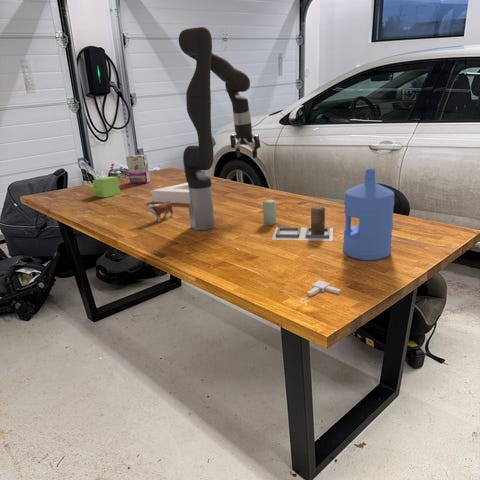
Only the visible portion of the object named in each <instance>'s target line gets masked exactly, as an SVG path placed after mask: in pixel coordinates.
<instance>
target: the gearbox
mask: <svg viewBox="0 0 480 480" xmlns="http://www.w3.org/2000/svg"><path fill="white" fill-rule="evenodd" d="M120 188H121V187H120V182H119V177H118V176H104V177H99V178H95V179H93V180H92V186H91V187H89V191H90V192H94V195H95V197H98V198H107V197H111V196H116V195H118V194H121V190H120Z"/></svg>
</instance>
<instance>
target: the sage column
mask: <svg viewBox="0 0 480 480" xmlns="http://www.w3.org/2000/svg"><path fill="white" fill-rule="evenodd" d="M276 205H277V204H276V200H274V199H267V200H262V212H263V227H267V226H273V225H276V224H277V215H276V214H277V213H276V212H277V210H276V207H277V206H276Z"/></svg>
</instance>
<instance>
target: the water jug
mask: <svg viewBox="0 0 480 480" xmlns="http://www.w3.org/2000/svg"><path fill="white" fill-rule="evenodd" d="M364 171H365V175H364V182H363V183H361V184H358V185H356V186H353V187H351V188H348V189H347V190H346V191H345V192H344V198H343V199H344V200H343V203H344V214H345V220H344V222H345V223H344V224H345V225H344V227H345V228H344V231H343V243H342V249H343V252H344V254H345V255H347V256H348V257H350V258H351V259H356V260H361V261H377V260H378V261H379V260H382V259H383V260H384V259H385V258H387V257H390V254H391V252H392V238H393V237H392V235H393V234H392V233H393V228H394V227H393V225H394V223H393V221H394V220H393V219H394V208H395V207H394V206H395V192H394V190H391V189H390V188H388V187H386V186H384V185H381V184H379V183H377V182H376V171H377V170H376V169H372V168H370V169H365V170H364ZM352 218H353V219H354V218H356V219H359V223H358V224H357V225H354V226H353V225H351V224H352V223H351V222H352Z"/></svg>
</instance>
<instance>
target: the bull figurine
mask: <svg viewBox="0 0 480 480" xmlns="http://www.w3.org/2000/svg"><path fill="white" fill-rule="evenodd" d="M172 208H173V203H171V202H170V201H167V202H161V203H157V204H156V203H155V204H151V203H149V204H148V205H147V208H146V209H145V211H146V212H147V213H148V212H149V213H152V215H154V216H155V217H156V221H157V223H160V222H161V219H160V218H161V216H162V215H163V218H166V217H167V214H169V212H170V218H173V216H174V215H173V212H174V211H173V209H172Z"/></svg>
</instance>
